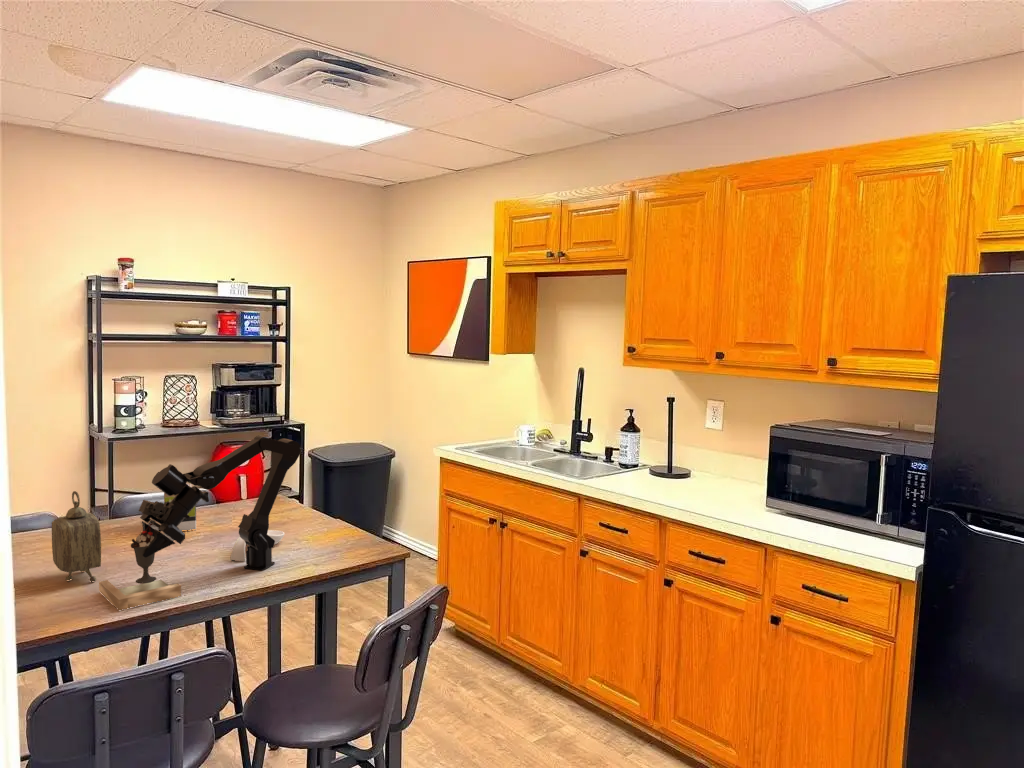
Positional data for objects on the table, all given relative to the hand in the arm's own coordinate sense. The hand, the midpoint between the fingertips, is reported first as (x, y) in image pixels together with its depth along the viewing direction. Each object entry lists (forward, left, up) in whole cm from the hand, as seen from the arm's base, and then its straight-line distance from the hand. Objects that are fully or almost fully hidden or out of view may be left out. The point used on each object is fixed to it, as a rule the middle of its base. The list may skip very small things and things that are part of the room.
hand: (139, 553), depth 192 cm
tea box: (+32, -57, -11) cm, 67 cm away
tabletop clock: (+24, -4, -11) cm, 27 cm away
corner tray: (0, +1, -11) cm, 11 cm away
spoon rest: (-8, -42, -11) cm, 44 cm away
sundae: (-1, -1, -8) cm, 8 cm away
